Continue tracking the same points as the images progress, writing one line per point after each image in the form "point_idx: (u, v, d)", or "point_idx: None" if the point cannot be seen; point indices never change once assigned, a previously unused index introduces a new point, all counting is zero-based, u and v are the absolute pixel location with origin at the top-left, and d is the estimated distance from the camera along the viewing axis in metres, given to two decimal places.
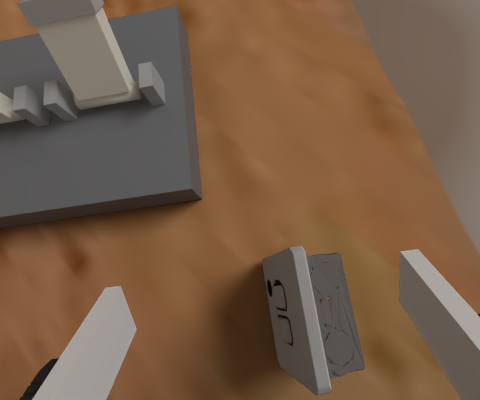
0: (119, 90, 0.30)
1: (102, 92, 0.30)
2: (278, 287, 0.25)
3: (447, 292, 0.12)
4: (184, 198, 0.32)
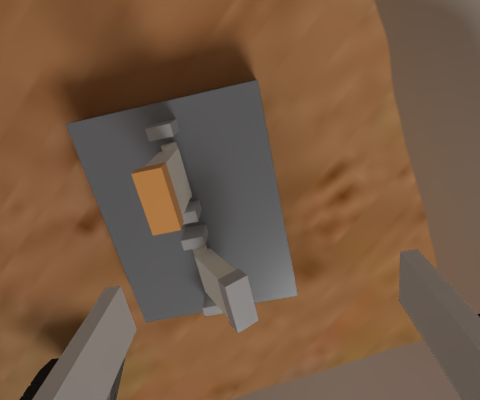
0: (204, 286, 0.38)
1: (201, 275, 0.37)
2: None
3: (447, 292, 0.12)
4: None
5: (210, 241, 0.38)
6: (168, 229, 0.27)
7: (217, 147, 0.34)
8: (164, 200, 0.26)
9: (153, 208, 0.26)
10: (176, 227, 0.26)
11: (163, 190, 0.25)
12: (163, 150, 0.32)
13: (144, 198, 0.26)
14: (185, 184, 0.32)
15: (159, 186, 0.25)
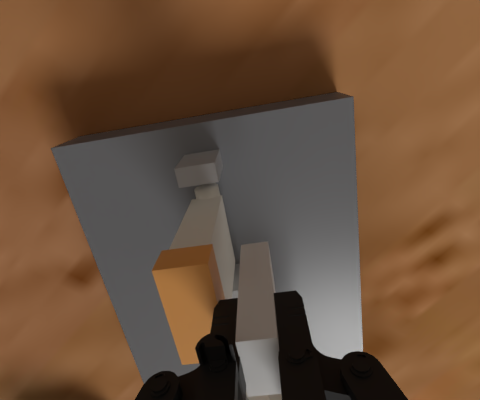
0: None
1: None
2: None
3: (264, 274, 0.14)
4: None
5: None
6: None
7: (277, 193, 0.23)
8: (207, 315, 0.14)
9: (187, 325, 0.15)
10: None
11: (207, 300, 0.14)
12: (198, 198, 0.21)
13: (172, 310, 0.14)
14: (229, 253, 0.21)
15: (201, 293, 0.14)
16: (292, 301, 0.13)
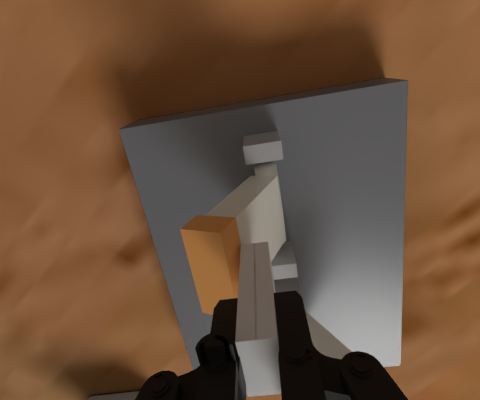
0: None
1: None
2: None
3: (264, 274, 0.14)
4: None
5: None
6: None
7: (329, 173, 0.24)
8: (221, 277, 0.17)
9: (205, 281, 0.17)
10: None
11: (220, 263, 0.16)
12: (256, 175, 0.23)
13: (195, 265, 0.17)
14: (275, 230, 0.22)
15: (215, 257, 0.16)
16: (292, 301, 0.13)
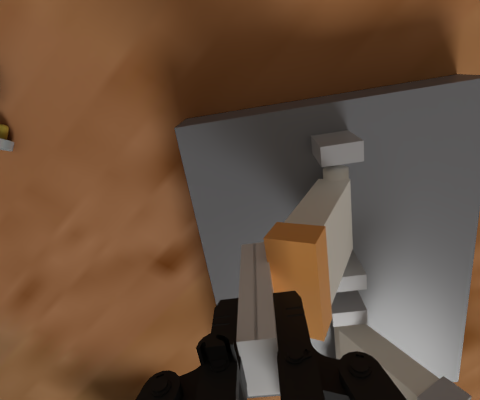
0: None
1: None
2: None
3: (263, 274, 0.14)
4: None
5: None
6: None
7: (400, 176, 0.22)
8: (307, 292, 0.15)
9: None
10: (317, 335, 0.16)
11: (310, 278, 0.14)
12: (325, 178, 0.21)
13: (276, 278, 0.15)
14: (347, 239, 0.20)
15: (304, 270, 0.14)
16: (291, 301, 0.13)
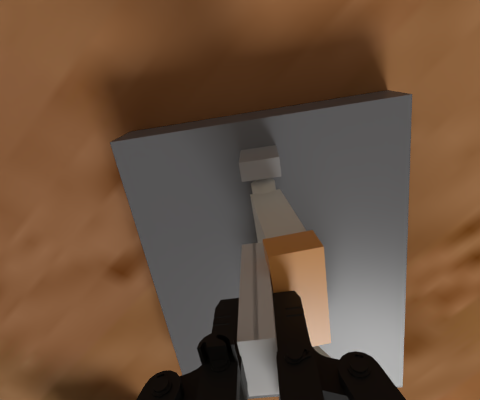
0: None
1: None
2: None
3: (262, 274, 0.14)
4: None
5: None
6: (311, 342, 0.16)
7: (329, 189, 0.23)
8: (315, 298, 0.15)
9: None
10: (325, 339, 0.16)
11: (318, 283, 0.14)
12: (257, 192, 0.21)
13: None
14: None
15: (313, 277, 0.14)
16: (291, 301, 0.13)
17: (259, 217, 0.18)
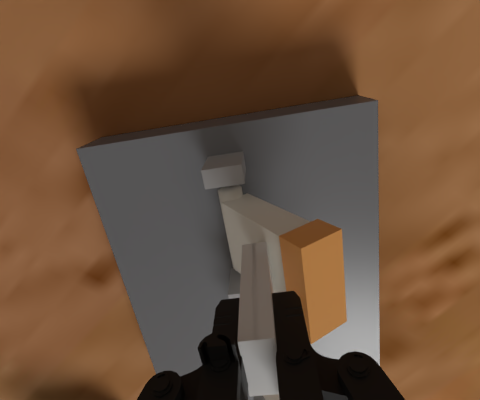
0: None
1: None
2: None
3: (262, 275, 0.14)
4: None
5: None
6: (332, 326, 0.16)
7: (298, 195, 0.23)
8: (336, 281, 0.16)
9: (320, 298, 0.15)
10: (342, 319, 0.17)
11: (337, 265, 0.15)
12: (228, 199, 0.21)
13: (311, 286, 0.15)
14: None
15: (334, 260, 0.15)
16: (290, 301, 0.13)
17: (252, 219, 0.18)
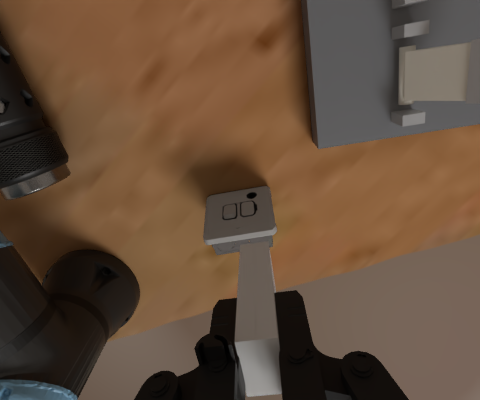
0: (406, 93, 0.36)
1: (407, 77, 0.35)
2: (252, 209, 0.43)
3: (264, 274, 0.14)
4: (313, 132, 0.43)
5: None
6: None
7: None
8: None
9: None
10: None
11: None
12: None
13: None
14: None
15: None
16: (293, 301, 0.13)
17: None
